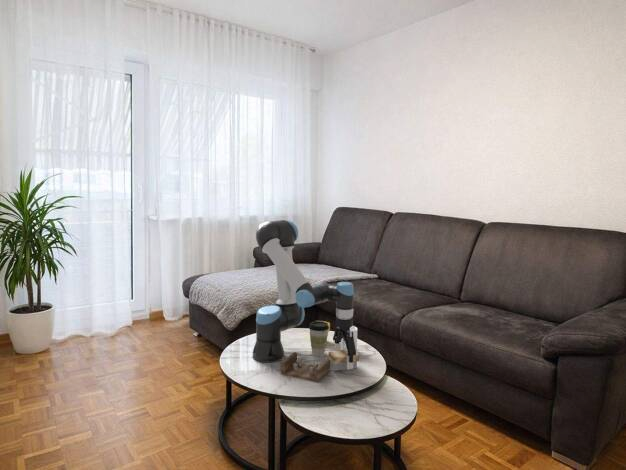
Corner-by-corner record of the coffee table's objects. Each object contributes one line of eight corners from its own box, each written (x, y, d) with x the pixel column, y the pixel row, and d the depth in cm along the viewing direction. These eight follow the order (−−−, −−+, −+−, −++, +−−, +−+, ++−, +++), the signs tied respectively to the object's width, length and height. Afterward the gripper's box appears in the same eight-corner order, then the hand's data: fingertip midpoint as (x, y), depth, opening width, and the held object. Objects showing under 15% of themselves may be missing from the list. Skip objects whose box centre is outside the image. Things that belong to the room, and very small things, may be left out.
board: (334, 364, 186) (334, 357, 185) (328, 358, 192) (328, 351, 192) (359, 361, 190) (359, 354, 189) (352, 355, 196) (352, 348, 196)
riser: (332, 371, 188) (332, 362, 188) (329, 368, 191) (329, 359, 190) (356, 367, 192) (357, 359, 192) (353, 365, 195) (354, 356, 194)
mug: (349, 358, 202) (349, 334, 201) (333, 354, 207) (334, 330, 206) (360, 350, 212) (360, 327, 211) (345, 346, 217) (345, 324, 216)
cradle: (281, 373, 185) (281, 361, 184) (294, 363, 195) (294, 352, 195) (318, 382, 177) (319, 369, 176) (330, 371, 188) (330, 359, 187)
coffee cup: (314, 358, 201) (314, 328, 199) (304, 351, 210) (305, 322, 208) (332, 355, 206) (332, 325, 204) (322, 348, 214) (322, 319, 212)
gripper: (364, 324, 178) (363, 373, 181) (341, 308, 202) (340, 351, 204) (348, 326, 176) (347, 375, 178) (326, 310, 199) (325, 353, 201)
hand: (343, 362), depth 191 cm, fingers open, 13 cm apart
